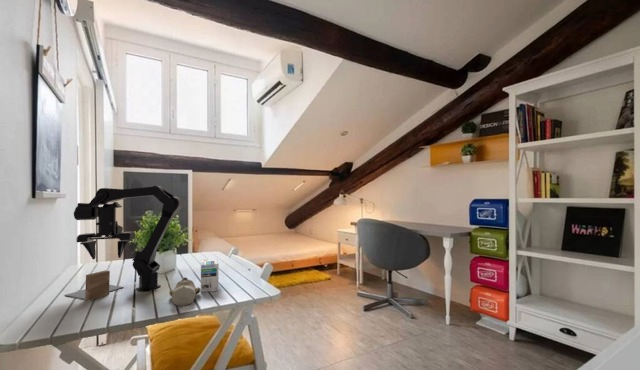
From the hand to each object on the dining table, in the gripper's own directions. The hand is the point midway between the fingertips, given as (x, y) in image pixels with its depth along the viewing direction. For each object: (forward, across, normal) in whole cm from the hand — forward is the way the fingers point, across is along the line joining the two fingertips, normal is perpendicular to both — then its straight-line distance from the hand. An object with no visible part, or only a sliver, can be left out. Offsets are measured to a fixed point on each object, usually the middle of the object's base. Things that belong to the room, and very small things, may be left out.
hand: (106, 258), depth 116 cm
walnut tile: (+13, 0, +7) cm, 15 cm away
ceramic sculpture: (+14, -34, +18) cm, 40 cm away
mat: (+13, +4, +1) cm, 13 cm away
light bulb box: (+14, -40, +4) cm, 42 cm away
